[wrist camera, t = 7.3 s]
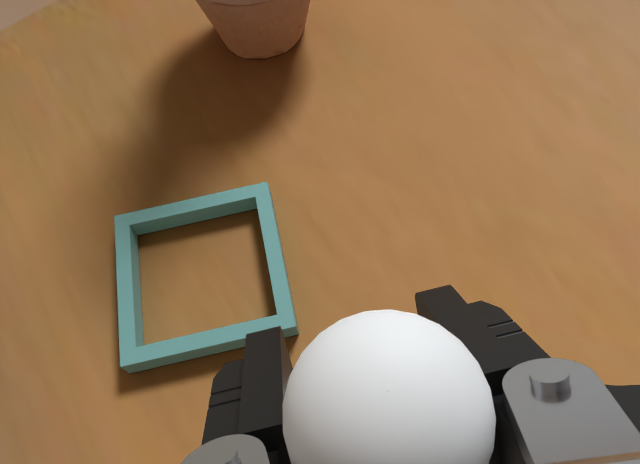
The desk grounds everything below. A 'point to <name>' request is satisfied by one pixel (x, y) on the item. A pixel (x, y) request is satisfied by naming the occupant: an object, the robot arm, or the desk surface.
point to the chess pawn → (388, 395)
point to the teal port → (210, 341)
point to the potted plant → (257, 24)
